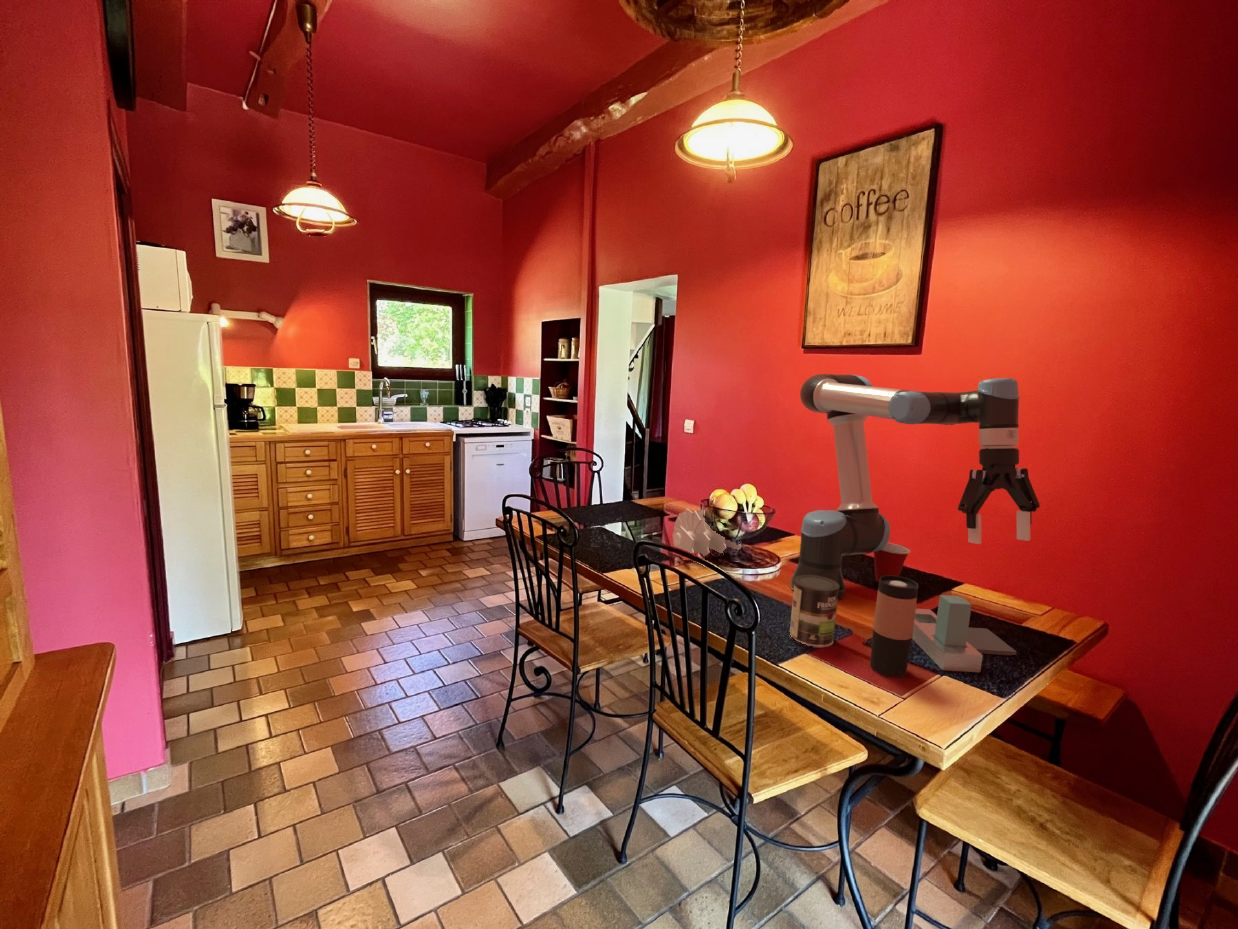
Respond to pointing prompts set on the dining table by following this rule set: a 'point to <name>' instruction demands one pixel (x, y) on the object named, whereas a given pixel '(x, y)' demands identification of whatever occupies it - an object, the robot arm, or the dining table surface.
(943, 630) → the gray rectangular box
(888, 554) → the plastic cup
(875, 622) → the travel mug
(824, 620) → the coffee can
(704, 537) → the spiral staircase
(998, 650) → the rubber mat
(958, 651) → the block with square holes
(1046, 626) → the dining table surface
